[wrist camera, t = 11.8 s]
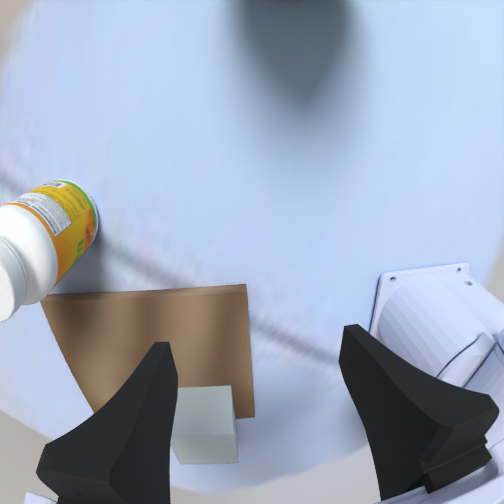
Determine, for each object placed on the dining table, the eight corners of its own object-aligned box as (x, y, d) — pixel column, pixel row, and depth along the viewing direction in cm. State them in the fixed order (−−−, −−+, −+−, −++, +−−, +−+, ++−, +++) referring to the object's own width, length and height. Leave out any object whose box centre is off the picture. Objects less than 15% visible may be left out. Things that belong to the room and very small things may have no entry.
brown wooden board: (245, 284, 22) (246, 291, 21) (253, 409, 27) (254, 417, 27) (45, 294, 21) (40, 301, 20) (98, 409, 26) (96, 416, 26)
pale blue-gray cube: (230, 385, 24) (233, 433, 20) (235, 419, 26) (238, 462, 22) (171, 387, 24) (165, 434, 20) (183, 420, 26) (180, 464, 22)
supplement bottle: (73, 266, 20) (7, 352, 11) (25, 217, 18) (-61, 279, 9) (115, 216, 19) (44, 293, 10) (61, 161, 17) (-37, 202, 8)
